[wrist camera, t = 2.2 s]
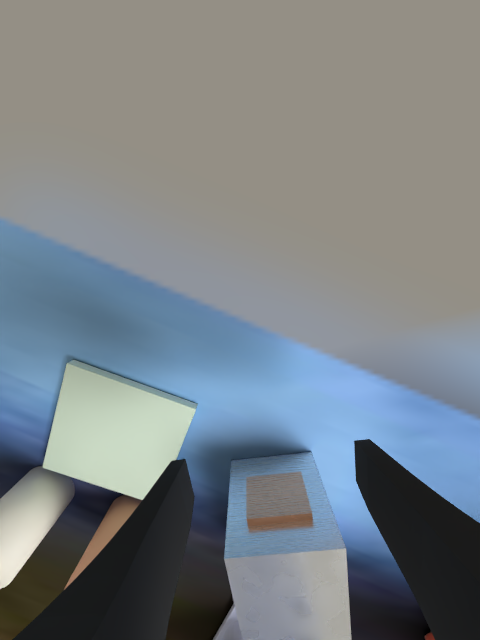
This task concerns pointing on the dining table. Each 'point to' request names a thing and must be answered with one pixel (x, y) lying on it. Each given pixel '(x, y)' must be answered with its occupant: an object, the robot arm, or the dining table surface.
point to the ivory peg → (30, 516)
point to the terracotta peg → (106, 530)
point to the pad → (115, 430)
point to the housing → (285, 552)
